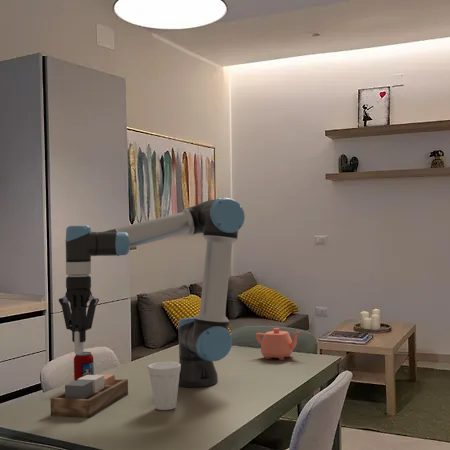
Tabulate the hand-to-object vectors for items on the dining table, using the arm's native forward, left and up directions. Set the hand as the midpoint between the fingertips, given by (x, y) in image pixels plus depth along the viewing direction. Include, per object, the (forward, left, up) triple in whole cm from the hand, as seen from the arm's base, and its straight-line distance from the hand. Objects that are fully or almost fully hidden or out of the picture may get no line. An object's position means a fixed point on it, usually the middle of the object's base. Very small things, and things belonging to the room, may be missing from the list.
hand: (79, 352), depth 189 cm
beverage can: (+12, -24, -18) cm, 33 cm away
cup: (-26, -5, -18) cm, 32 cm away
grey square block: (-1, +2, -13) cm, 13 cm away
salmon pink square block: (-1, -13, -14) cm, 19 cm away
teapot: (-46, -82, -18) cm, 96 cm away
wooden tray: (-1, -5, -17) cm, 18 cm away
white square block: (-1, -5, -13) cm, 14 cm away
